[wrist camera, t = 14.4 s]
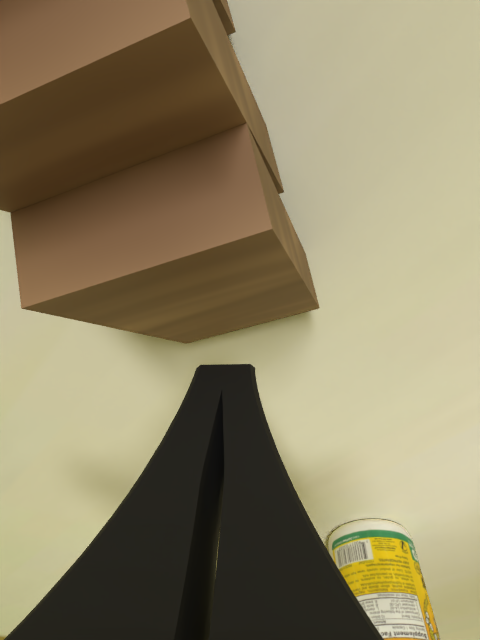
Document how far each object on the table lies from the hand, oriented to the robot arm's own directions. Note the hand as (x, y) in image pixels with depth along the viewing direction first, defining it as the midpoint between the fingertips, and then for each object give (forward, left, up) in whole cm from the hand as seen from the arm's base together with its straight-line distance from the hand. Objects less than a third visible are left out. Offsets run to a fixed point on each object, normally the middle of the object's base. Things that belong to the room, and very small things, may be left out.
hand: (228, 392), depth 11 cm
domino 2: (-1, +1, -5) cm, 5 cm away
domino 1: (+3, -2, -5) cm, 6 cm away
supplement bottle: (-18, +14, -6) cm, 23 cm away
